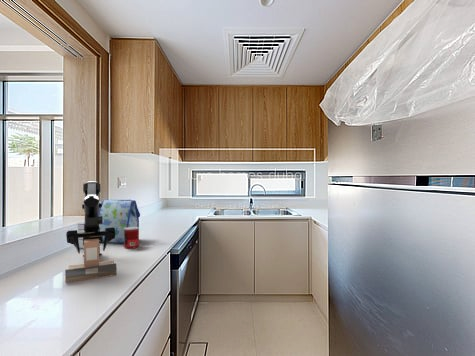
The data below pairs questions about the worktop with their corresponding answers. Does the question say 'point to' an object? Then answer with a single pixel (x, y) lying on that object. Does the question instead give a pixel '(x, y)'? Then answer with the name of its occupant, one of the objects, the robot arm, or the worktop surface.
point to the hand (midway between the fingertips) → (91, 251)
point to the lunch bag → (119, 217)
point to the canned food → (131, 237)
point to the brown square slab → (90, 271)
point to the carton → (91, 252)
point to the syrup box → (81, 230)
